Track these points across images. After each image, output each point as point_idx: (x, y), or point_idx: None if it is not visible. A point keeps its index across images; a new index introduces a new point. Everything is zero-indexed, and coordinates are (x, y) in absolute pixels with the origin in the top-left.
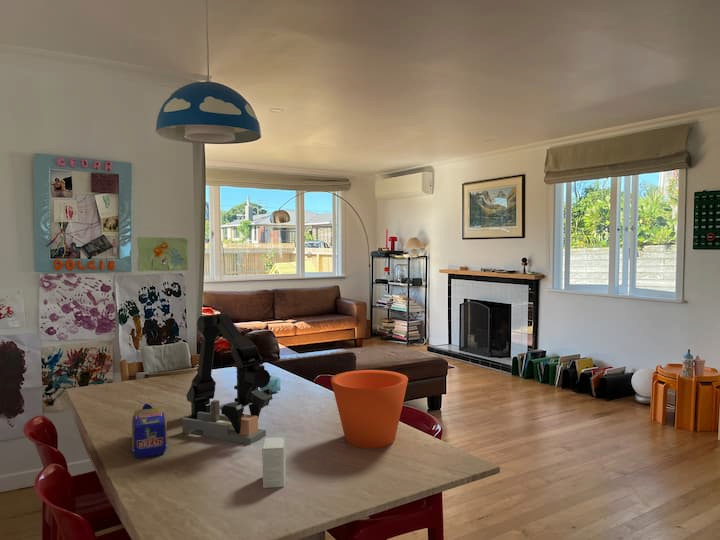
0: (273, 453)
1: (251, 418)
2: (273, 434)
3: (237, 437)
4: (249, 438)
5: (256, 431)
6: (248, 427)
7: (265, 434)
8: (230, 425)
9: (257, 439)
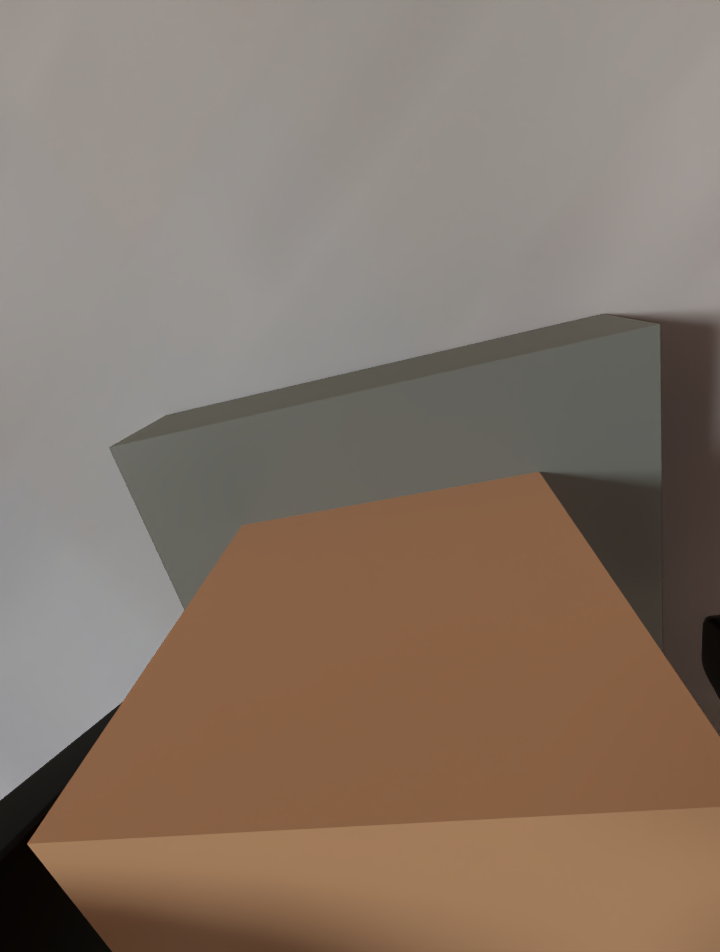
0: None
1: (419, 859)
2: (40, 366)
3: (649, 608)
4: (659, 349)
5: (287, 520)
6: (606, 584)
7: (161, 420)
8: None
9: (389, 367)
